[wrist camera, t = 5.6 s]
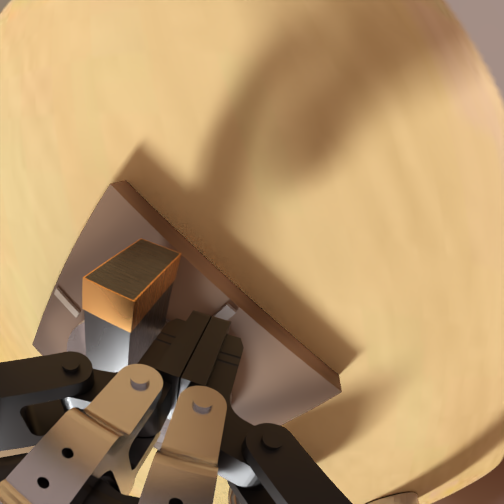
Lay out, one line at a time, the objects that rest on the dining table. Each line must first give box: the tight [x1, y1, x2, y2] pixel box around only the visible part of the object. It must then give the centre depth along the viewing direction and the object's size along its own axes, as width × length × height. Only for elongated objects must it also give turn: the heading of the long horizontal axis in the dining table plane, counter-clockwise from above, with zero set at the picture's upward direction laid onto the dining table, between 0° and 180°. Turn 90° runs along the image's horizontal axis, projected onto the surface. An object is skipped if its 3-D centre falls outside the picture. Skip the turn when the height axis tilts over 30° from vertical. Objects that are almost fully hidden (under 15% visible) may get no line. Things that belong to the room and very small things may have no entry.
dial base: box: [33, 180, 342, 450], centre depth 17 cm, size 17×17×2 cm
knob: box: [67, 238, 232, 443], centre depth 13 cm, size 16×11×6 cm
